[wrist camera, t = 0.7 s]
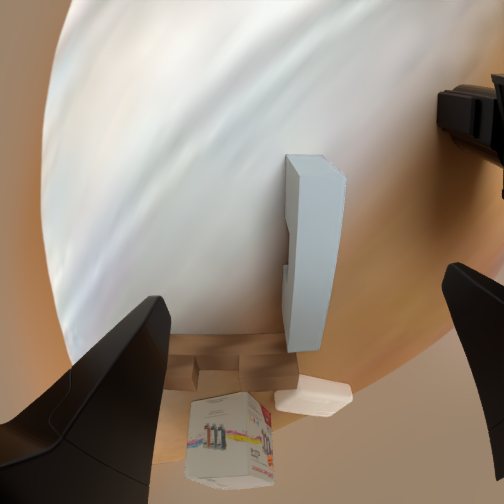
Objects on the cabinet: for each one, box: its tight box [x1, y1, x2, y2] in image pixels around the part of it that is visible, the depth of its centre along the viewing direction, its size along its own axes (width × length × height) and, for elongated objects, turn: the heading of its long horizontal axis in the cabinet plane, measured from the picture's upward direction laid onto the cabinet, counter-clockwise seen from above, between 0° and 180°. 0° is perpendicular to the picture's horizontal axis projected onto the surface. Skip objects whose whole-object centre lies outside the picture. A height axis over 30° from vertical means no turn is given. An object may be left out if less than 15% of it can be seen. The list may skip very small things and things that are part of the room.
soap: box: [274, 374, 353, 417], centre depth 31 cm, size 9×6×3 cm, turn 62°
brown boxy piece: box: [163, 333, 299, 392], centre depth 24 cm, size 14×2×5 cm, turn 92°
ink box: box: [184, 392, 275, 490], centre depth 29 cm, size 9×9×12 cm
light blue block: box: [281, 155, 347, 353], centre depth 18 cm, size 2×13×5 cm, turn 2°
